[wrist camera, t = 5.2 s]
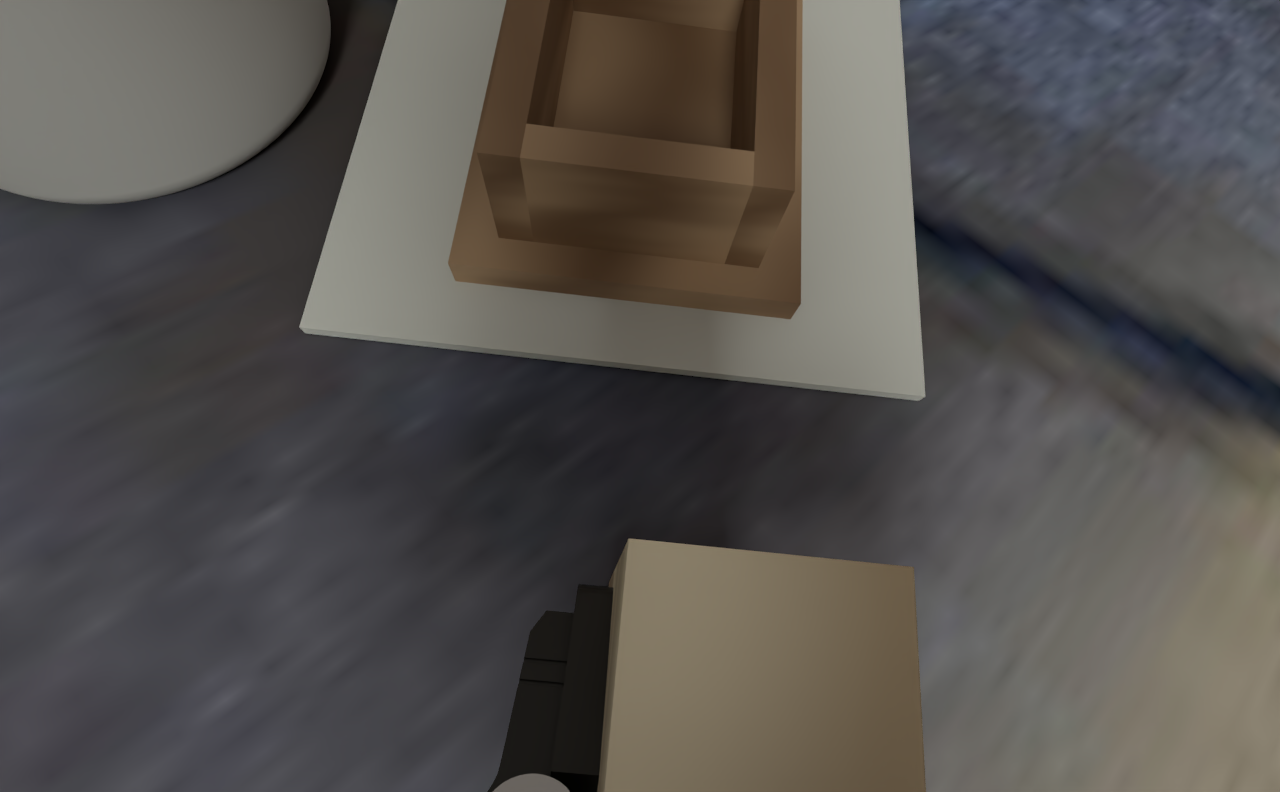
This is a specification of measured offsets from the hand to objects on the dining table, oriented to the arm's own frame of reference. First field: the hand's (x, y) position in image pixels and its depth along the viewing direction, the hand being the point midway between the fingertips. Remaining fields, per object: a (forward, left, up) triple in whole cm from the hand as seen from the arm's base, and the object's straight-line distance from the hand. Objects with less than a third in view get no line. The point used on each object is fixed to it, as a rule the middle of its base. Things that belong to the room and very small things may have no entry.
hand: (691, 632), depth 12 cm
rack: (-2, +15, -4) cm, 16 cm away
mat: (-2, +15, -4) cm, 16 cm away
